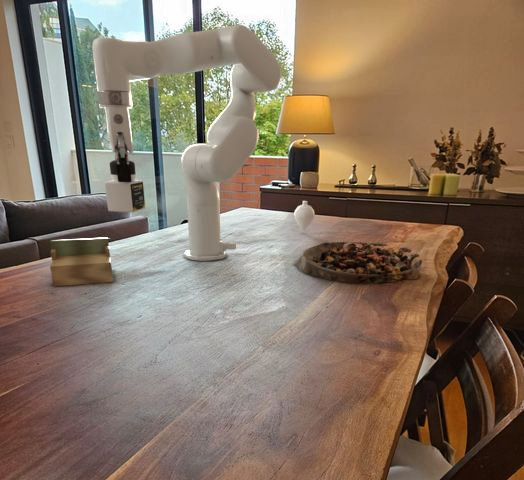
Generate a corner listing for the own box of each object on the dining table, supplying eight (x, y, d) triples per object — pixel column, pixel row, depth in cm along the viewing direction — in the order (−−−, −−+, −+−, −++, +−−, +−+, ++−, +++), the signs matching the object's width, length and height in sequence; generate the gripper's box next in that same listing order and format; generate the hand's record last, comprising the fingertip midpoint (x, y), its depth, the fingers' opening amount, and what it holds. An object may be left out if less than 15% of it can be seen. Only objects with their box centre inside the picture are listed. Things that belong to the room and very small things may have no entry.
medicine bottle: (133, 212, 115) (128, 161, 110) (107, 211, 116) (101, 160, 111) (145, 208, 121) (141, 159, 116) (121, 207, 122) (115, 159, 117)
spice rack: (111, 270, 125) (107, 237, 121) (113, 281, 116) (108, 246, 112) (56, 274, 121) (50, 240, 117) (53, 286, 111) (46, 249, 108)
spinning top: (314, 235, 173) (316, 202, 167) (293, 235, 173) (295, 202, 167) (312, 231, 179) (314, 199, 174) (293, 231, 180) (294, 199, 174)
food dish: (439, 272, 131) (444, 245, 128) (380, 301, 110) (385, 269, 106) (338, 248, 152) (341, 224, 149) (272, 268, 131) (273, 241, 127)
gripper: (134, 99, 102) (142, 183, 109) (129, 103, 116) (136, 177, 124) (99, 98, 99) (109, 184, 107) (98, 102, 114) (107, 177, 122)
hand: (123, 180), depth 115 cm, fingers closed on medicine bottle, 7 cm apart
